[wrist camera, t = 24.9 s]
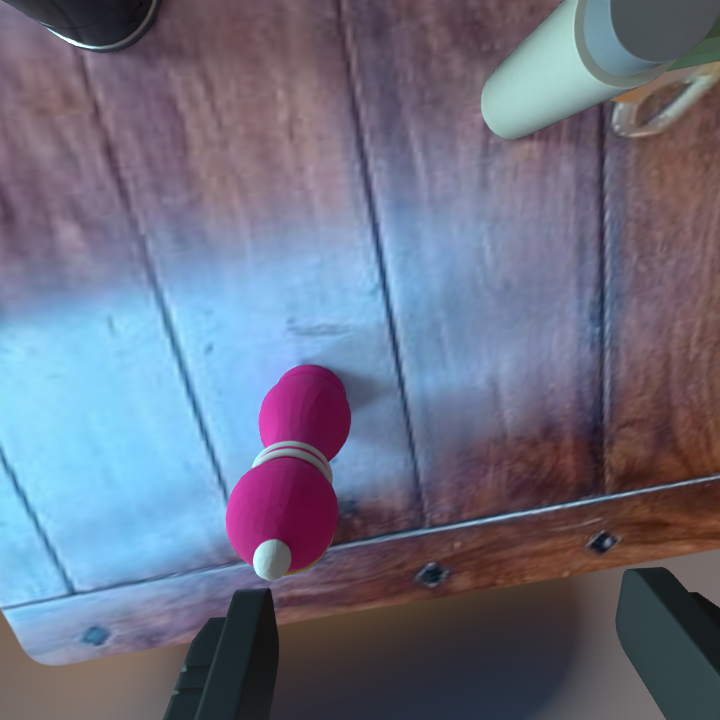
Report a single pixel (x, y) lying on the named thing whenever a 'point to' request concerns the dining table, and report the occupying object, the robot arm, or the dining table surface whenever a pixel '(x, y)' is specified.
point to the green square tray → (702, 50)
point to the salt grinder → (589, 59)
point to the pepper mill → (291, 475)
